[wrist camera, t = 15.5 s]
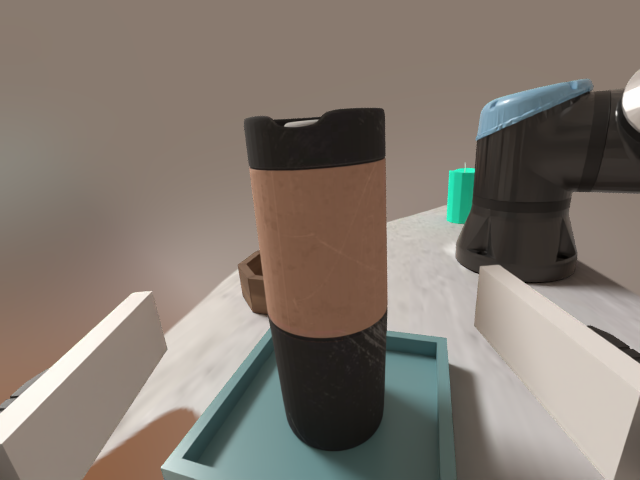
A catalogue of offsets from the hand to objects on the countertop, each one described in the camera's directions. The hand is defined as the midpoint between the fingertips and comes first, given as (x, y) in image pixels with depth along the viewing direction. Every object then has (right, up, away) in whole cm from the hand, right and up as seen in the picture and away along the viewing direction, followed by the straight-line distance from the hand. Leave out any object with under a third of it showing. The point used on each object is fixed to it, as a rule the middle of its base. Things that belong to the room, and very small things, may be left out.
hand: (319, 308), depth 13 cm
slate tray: (+1, -10, +11) cm, 15 cm away
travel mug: (+1, -10, +11) cm, 14 cm away
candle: (+30, +7, +56) cm, 64 cm away
